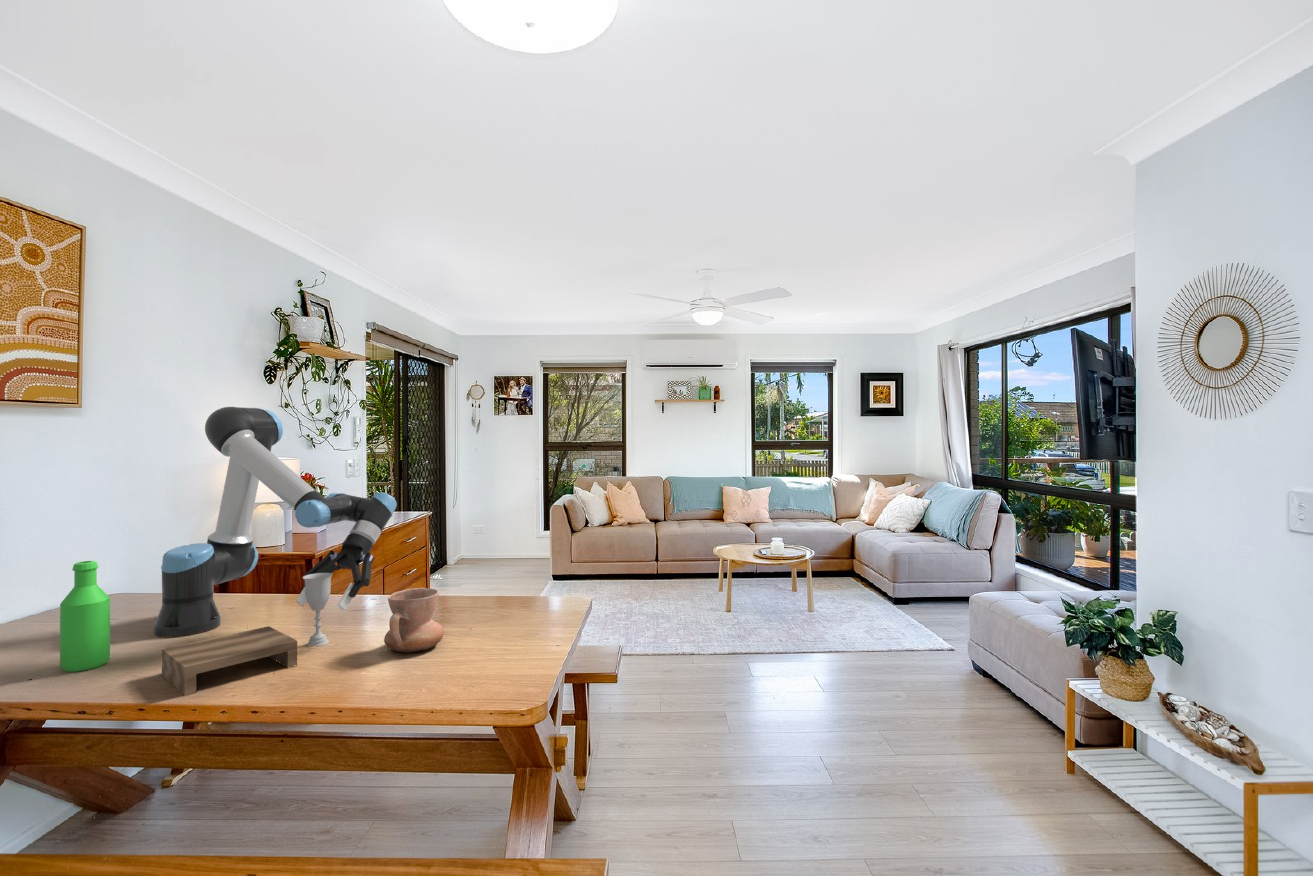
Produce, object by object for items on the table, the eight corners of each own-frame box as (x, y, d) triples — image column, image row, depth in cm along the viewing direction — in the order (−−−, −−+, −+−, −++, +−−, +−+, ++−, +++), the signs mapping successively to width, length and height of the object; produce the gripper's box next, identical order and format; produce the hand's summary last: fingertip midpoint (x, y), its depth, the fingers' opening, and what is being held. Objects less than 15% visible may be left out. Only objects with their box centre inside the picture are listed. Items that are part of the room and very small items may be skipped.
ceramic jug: (410, 634, 170) (409, 584, 170) (457, 638, 167) (456, 586, 166) (365, 659, 153) (364, 602, 152) (416, 663, 149) (415, 605, 149)
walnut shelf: (161, 675, 141) (161, 649, 141) (268, 649, 158) (268, 626, 158) (184, 695, 130) (184, 667, 130) (297, 665, 147) (297, 640, 147)
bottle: (66, 676, 141) (66, 567, 141) (54, 668, 145) (54, 563, 145) (116, 664, 148) (116, 560, 148) (102, 657, 153) (102, 557, 153)
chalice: (318, 649, 159) (318, 579, 159) (296, 647, 160) (296, 578, 160) (338, 639, 166) (338, 573, 166) (317, 638, 167) (317, 572, 167)
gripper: (404, 549, 176) (366, 616, 162) (332, 545, 183) (291, 609, 169) (391, 533, 171) (351, 601, 157) (318, 530, 178) (274, 595, 164)
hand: (320, 605), depth 163 cm, fingers open, 13 cm apart
